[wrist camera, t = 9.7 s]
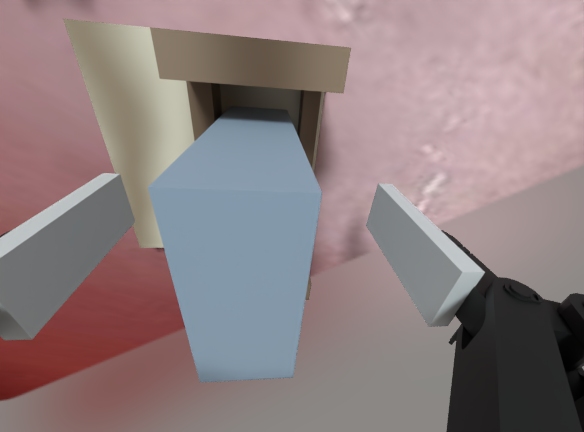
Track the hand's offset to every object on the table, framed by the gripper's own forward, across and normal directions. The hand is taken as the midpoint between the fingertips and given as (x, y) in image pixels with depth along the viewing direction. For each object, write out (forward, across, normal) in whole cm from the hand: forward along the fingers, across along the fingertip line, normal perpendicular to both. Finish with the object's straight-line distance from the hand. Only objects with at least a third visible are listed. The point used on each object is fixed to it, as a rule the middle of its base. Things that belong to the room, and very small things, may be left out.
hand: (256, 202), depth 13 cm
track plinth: (+7, -3, 0) cm, 7 cm away
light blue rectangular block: (+5, 0, 0) cm, 5 cm away
